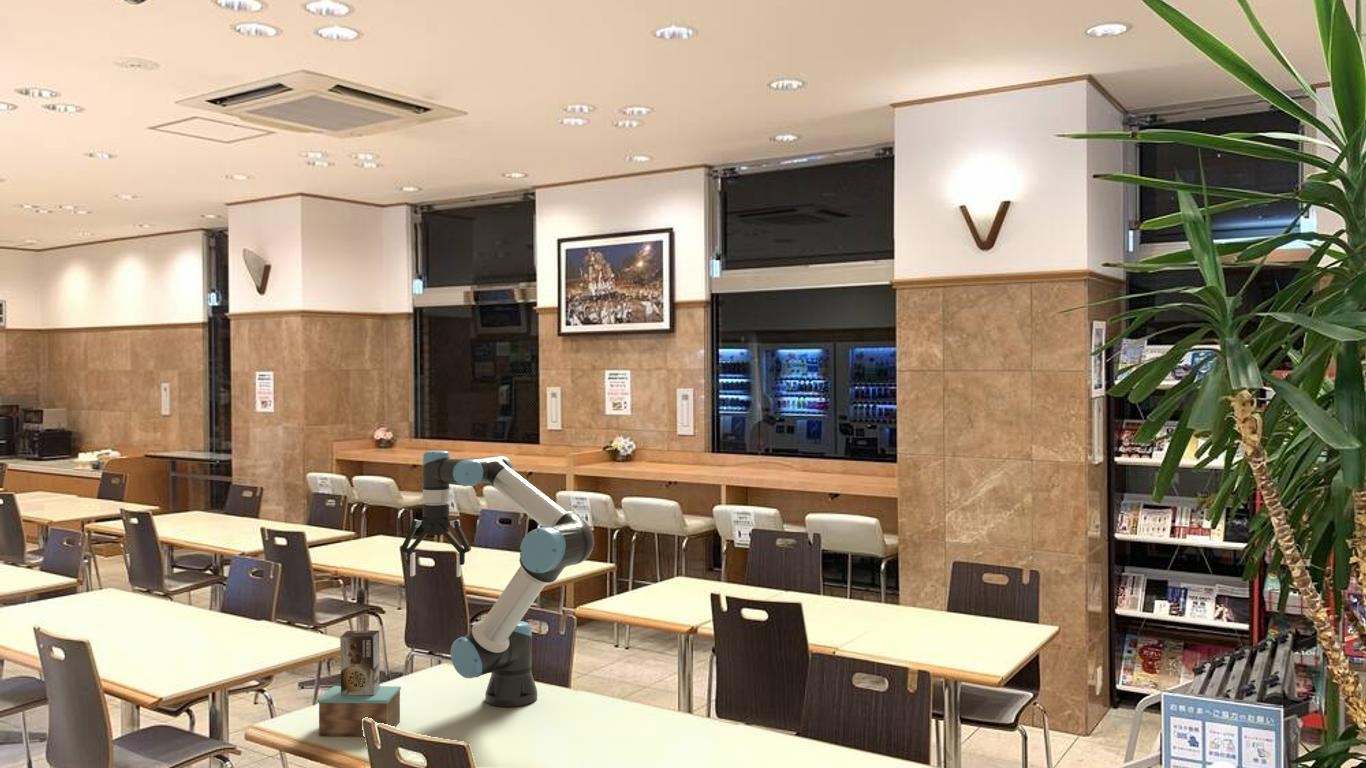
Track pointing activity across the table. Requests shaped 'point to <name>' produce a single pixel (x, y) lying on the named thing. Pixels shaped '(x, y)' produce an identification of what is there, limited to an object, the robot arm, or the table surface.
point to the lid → (360, 696)
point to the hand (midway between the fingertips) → (435, 575)
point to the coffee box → (359, 663)
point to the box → (356, 716)
